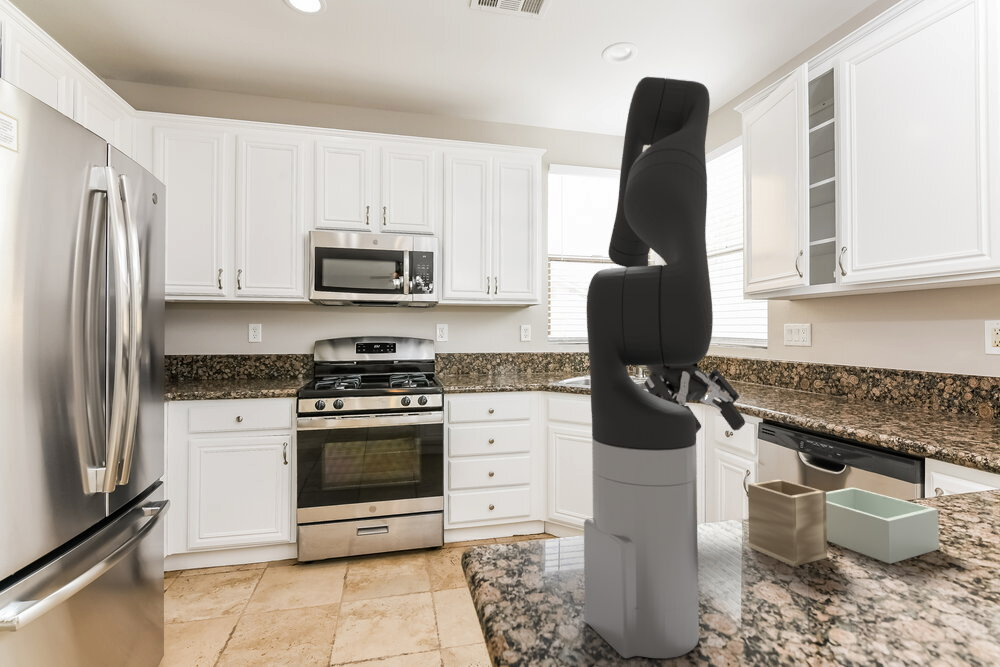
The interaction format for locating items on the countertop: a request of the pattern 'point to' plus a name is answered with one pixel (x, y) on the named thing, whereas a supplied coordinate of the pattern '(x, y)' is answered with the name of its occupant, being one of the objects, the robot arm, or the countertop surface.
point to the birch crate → (787, 521)
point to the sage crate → (880, 525)
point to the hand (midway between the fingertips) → (718, 429)
